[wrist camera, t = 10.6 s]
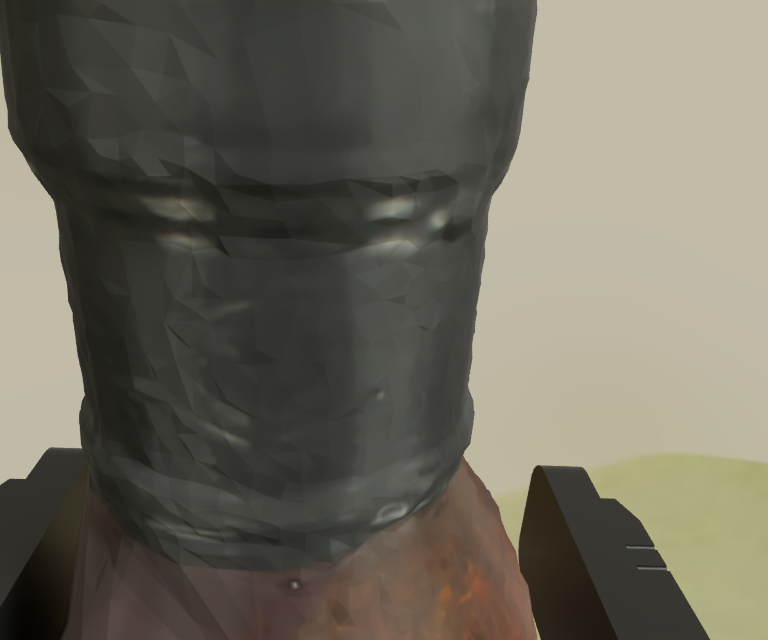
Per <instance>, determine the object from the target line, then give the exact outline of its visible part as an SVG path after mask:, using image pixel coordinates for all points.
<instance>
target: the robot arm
mask: <svg viewBox="0 0 768 640" xmlns="http://www.w3.org/2000/svg"><path fill="white" fill-rule="evenodd" d="M87 473H88V465H87V462H86V458H85V455H84V452H83V449H80V448H49V449H48V450H46V452H45V453H44V454H43V456H42V457H41V459H40V460H39V461H38V463H37V464H36V466H35V467H34V468H33V470H32V471H31V473H30V474H29V475H28V477H27V478H26V479H9V480H7V481H6V482H4V483H3V484H1V485H0V640H57V639H58V637H59V635H60V633H61V630H62V628H63V626H64V624H65V619H66V613H67V607H68V601H69V595H70V590H71V583H72V576H73V569H74V562H75V555H76V549H77V542H78V535H79V528H80V521H81V515H82V508H83V501H84V494H85V488H86V480H87ZM518 552H519V567H520V572H521V574H522V576H523V578H524V579H525V581H526V583H527V585H528V588H529V594H530V600H531V607H532V613H533V616H534V619H535V622H536V626H537V629H538V632H539V635H540V638H541V640H710V638H709V637H708V635H707V633H706V632H705V630H704V628H703V627H702V625H701V623H700V622H699V620H698V618H697V616H696V615H695V613H694V611H693V610H692V608H691V606H690V605H689V603H688V601H687V600H686V598H685V596H684V594H683V593H682V591H681V589H680V588H679V586H678V584H677V583H676V581H675V579H674V577H673V576H672V574H671V572H670V571H667V568H666V567H667V566H666V564H665V562H664V561H663V559H662V557H661V555H660V554H659V552H658V550H655V549H654V544H653V542H652V540H651V539H650V537H649V535H648V533H647V532H646V530H645V528H644V527H643V525H642V523H641V522H640V520H639V519H638V518H636V517H635V516H634V515H633V514H632V513H631V512H630V511H628V510H627V509H626V508H625V507H624V506H623V505H621V504H620V503H619V502H618V501H617V500H616V499H605V498H600V497H599V495H598V493H597V491H596V489H595V487H594V485H593V483H592V482H591V480H590V478H589V476H588V474H587V472H586V471H585V469H584V468H582V467H569V466H540V465H537V466H536V467H535V468H534V470H533V473H532V476H531V481H530V486H529V491H528V496H527V502H526V507H525V512H524V517H523V522H522V527H521V532H520V538H519V550H518Z"/></svg>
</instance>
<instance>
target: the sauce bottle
mask: <svg viewBox="0 0 768 640" xmlns="http://www.w3.org/2000/svg"><path fill="white" fill-rule="evenodd" d="M536 16H537V0H0V55H1V65H2V76H3V85H4V94H5V100H6V104H7V109H8V129H9V131H10V134H11V136H12V139H13V141H14V142H15V144H16V145H17V147H18V148H19V149H20V151H21V152H22V153H23V155H24V157H25V159H26V161H27V163H28V165H29V167H30V169H31V171H32V172H33V173H34V175H35V176H36V177H37V179H38V180H39V181H40V183H41V184H42V185H43V187H44V188H45V190H46V191H47V192H48V194H49V195H50V196H51V198H52V199H53V201H54V204H55V209H56V214H57V220H58V229H59V250H60V258H61V263H62V267H63V270H64V274H65V278H66V281H67V288H68V302H69V304H70V307H71V309H72V312H73V323H74V330H75V337H76V345H77V352H78V358H79V362H80V367H81V372H82V377H83V384H84V392H85V396H84V398H83V400H82V404H81V410H80V413H79V424H80V436H81V445H82V449H83V452H84V455H85V458H86V462H87V465H88V473H87V480H86V488H85V494H84V501H83V508H82V515H81V521H80V528H79V535H78V542H77V549H76V555H75V562H74V569H73V576H72V583H71V590H70V595H69V601H68V607H67V613H66V619H65V624H64V626H63V628H62V630H61V633H60V635H59V637H58V639H57V640H537V634H536V629H535V625H534V621H533V615H532V607H531V600H530V594H529V588H528V585H527V583H526V581H525V579H524V578H523V576H522V574H521V572H520V570H519V565H518V560H517V555H516V550H515V549H514V547H513V545H512V543H511V541H510V540H509V538H508V536H507V534H506V531H505V529H504V526H503V524H502V521H501V516H500V511H499V507H498V506H497V504H496V502H495V501H494V499H493V498H492V496H491V493H490V491H489V490H487V489H486V487H485V485H484V483H483V482H482V481H481V479H480V478H479V477H478V476H477V475H476V474H475V473H474V471H473V470H472V468H471V467H470V465H469V464H468V463H467V462H466V460H465V458H464V456H463V454H464V451H465V450H466V448H467V447H468V446H469V444H470V441H471V434H472V428H473V420H474V407H473V399H472V397H471V394H470V392H469V389H468V382H469V374H470V369H471V363H472V341H473V335H474V333H475V321H476V315H477V311H476V307H477V301H478V295H479V290H480V285H481V273H482V268H483V263H484V258H485V239H486V235H487V231H488V230H487V229H488V211H489V207H490V203H491V199H492V195H493V194H494V192H495V191H496V190H497V188H498V187H499V185H500V184H501V183H502V181H503V179H504V177H505V175H506V173H507V171H508V169H509V166H510V164H511V161H512V158H513V156H514V153H515V151H516V148H517V144H518V140H519V135H520V130H521V122H522V115H523V105H524V99H525V91H526V88H527V84H528V81H529V71H530V63H531V62H530V61H531V54H532V44H533V36H534V29H535V22H536Z"/></svg>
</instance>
